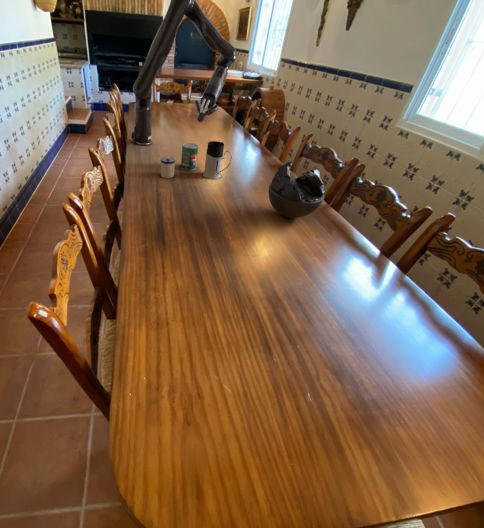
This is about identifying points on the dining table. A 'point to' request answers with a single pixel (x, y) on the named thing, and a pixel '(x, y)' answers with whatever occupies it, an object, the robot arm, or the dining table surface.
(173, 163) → the salt pot
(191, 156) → the canned tomato
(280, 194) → the broken dark shell
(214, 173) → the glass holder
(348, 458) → the dining table surface
